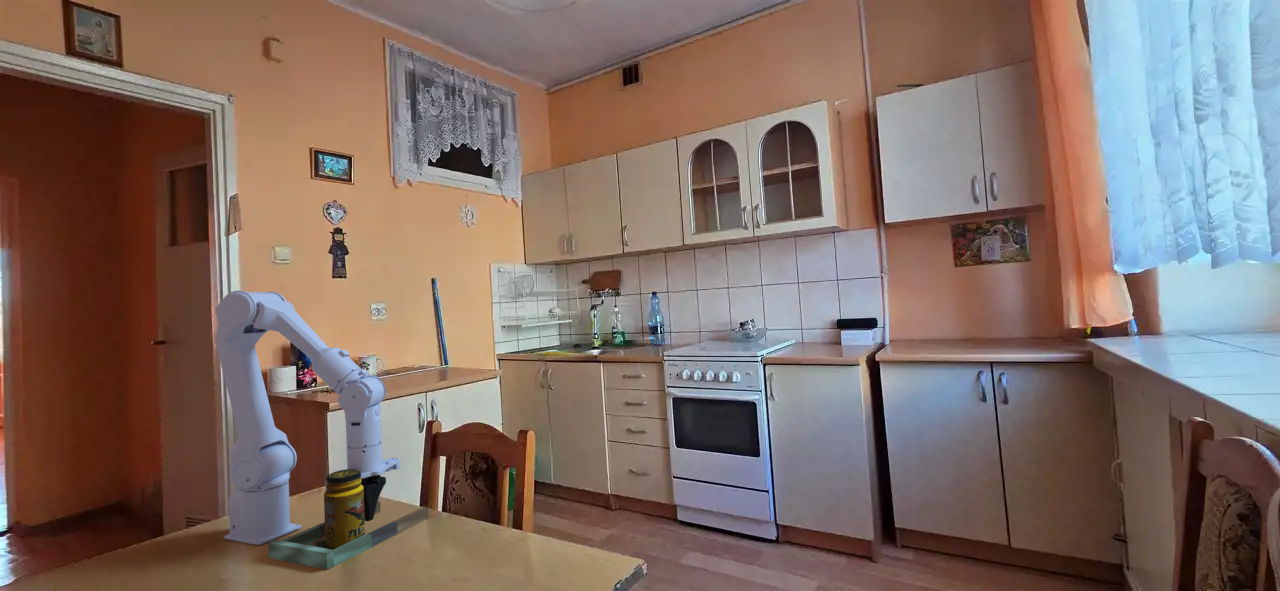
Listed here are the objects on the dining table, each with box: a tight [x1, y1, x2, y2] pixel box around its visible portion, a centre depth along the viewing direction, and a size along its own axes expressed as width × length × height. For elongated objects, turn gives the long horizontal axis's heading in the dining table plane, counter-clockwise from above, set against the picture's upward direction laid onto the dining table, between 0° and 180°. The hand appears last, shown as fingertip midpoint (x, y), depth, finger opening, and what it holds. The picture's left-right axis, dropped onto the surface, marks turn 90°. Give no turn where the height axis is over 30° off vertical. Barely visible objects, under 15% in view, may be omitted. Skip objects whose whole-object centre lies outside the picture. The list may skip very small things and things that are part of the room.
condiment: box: [306, 469, 366, 550], centre depth 94 cm, size 7×8×12 cm
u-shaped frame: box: [267, 500, 430, 571], centre depth 97 cm, size 13×21×2 cm, turn 158°
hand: (367, 519), depth 100 cm, fingers closed
